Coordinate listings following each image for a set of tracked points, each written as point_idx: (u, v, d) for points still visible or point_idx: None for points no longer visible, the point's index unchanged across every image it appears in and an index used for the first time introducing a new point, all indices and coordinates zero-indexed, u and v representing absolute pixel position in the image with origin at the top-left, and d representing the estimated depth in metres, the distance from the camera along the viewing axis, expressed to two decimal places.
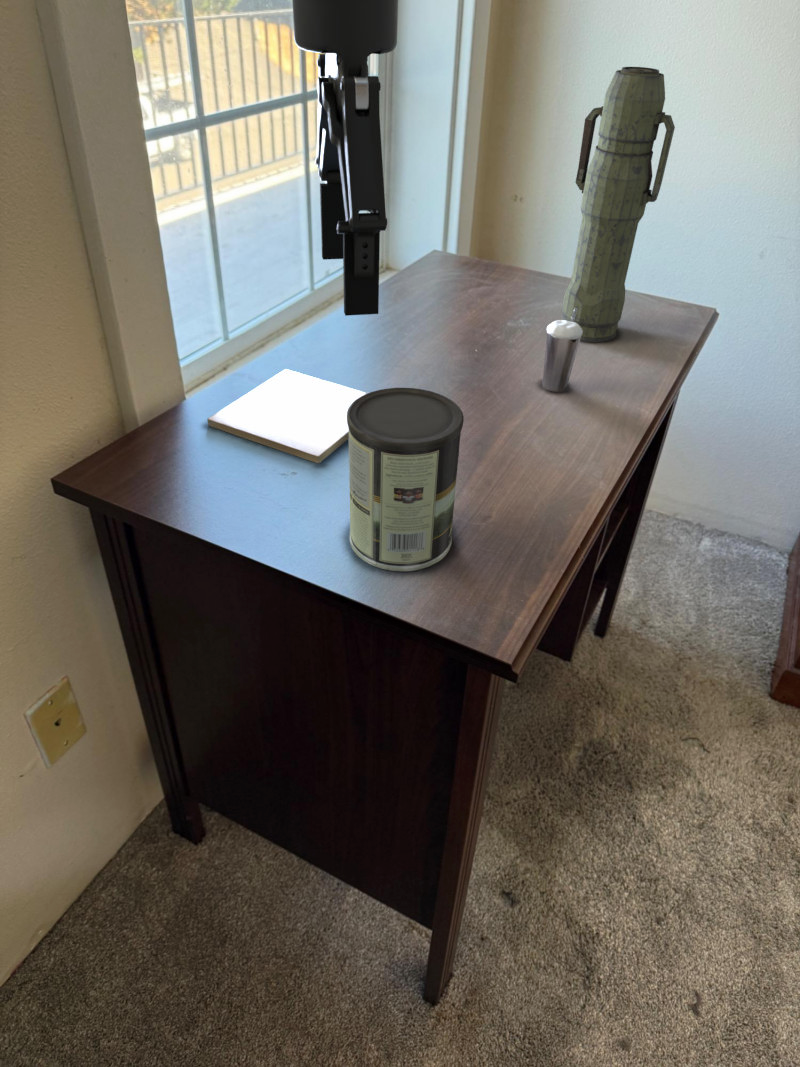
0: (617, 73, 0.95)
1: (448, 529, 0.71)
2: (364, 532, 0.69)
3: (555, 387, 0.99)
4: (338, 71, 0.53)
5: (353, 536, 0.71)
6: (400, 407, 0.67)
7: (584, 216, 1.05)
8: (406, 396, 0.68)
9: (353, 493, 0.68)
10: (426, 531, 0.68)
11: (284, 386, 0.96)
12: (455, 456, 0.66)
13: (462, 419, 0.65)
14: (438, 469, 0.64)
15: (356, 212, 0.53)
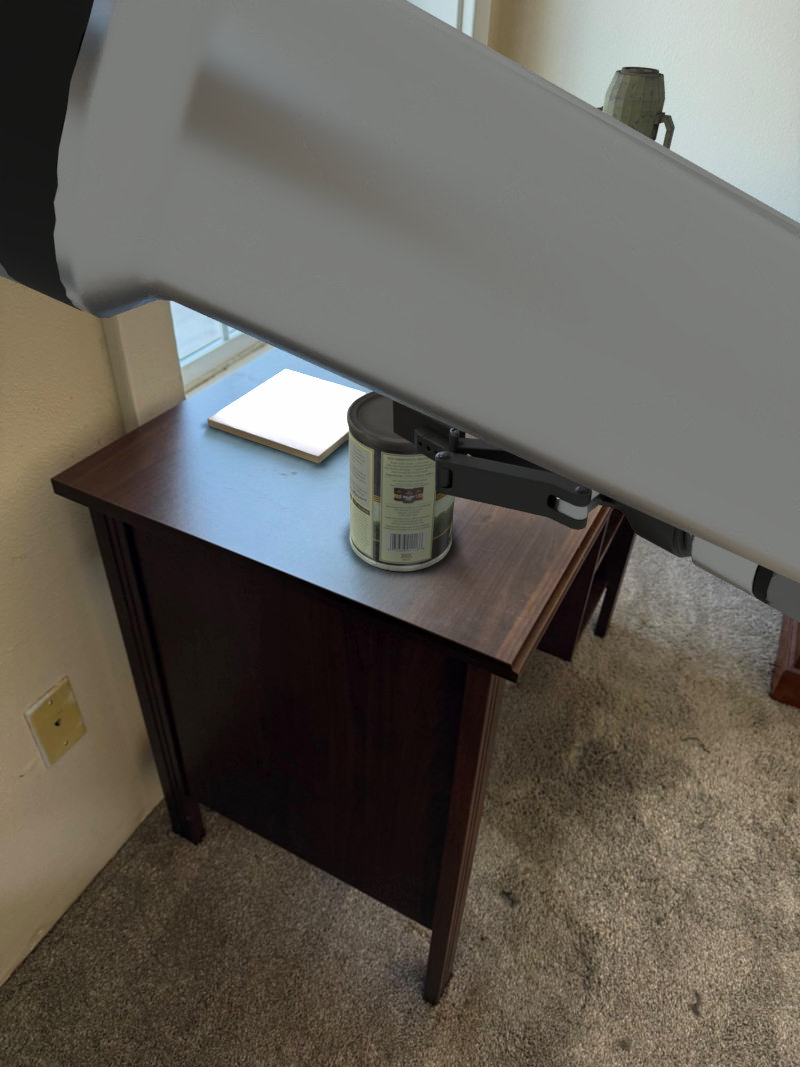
0: (617, 73, 0.95)
1: (448, 529, 0.71)
2: (364, 532, 0.69)
3: None
4: None
5: (353, 536, 0.71)
6: None
7: None
8: None
9: (353, 493, 0.68)
10: (426, 531, 0.68)
11: (284, 386, 0.96)
12: None
13: None
14: None
15: (449, 467, 0.46)
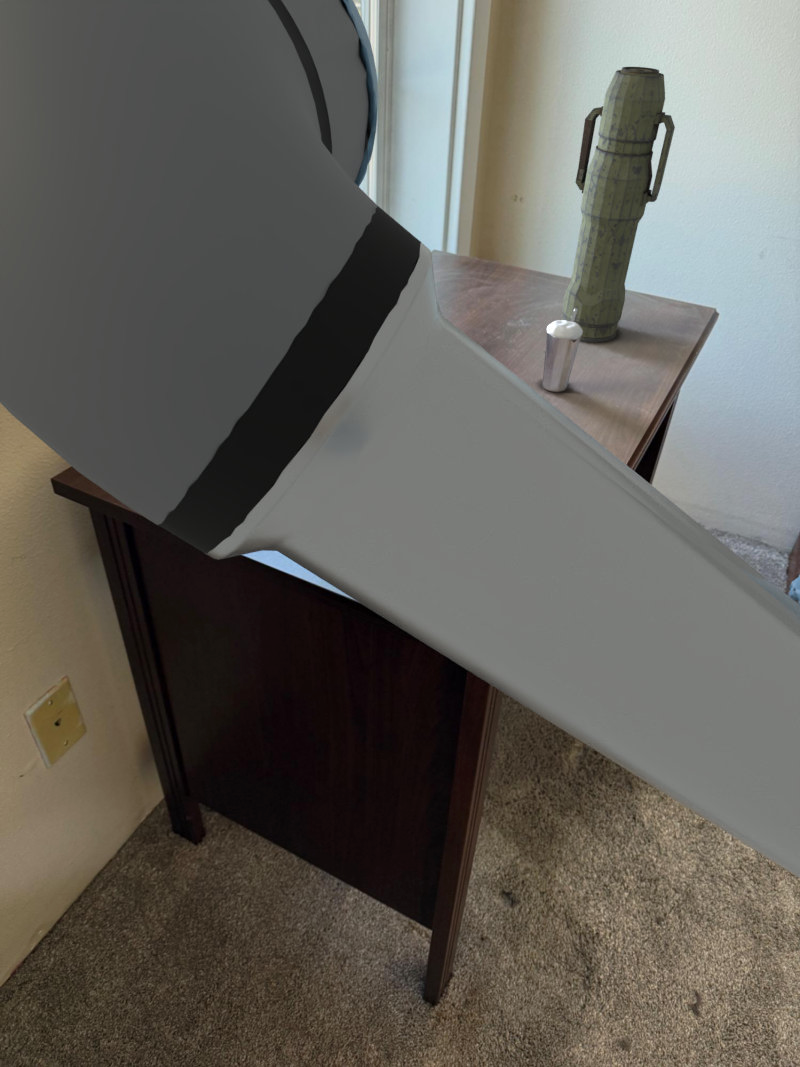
0: (617, 73, 0.95)
1: None
2: None
3: (555, 387, 0.99)
4: None
5: None
6: None
7: (584, 216, 1.05)
8: None
9: None
10: None
11: None
12: None
13: None
14: None
15: None
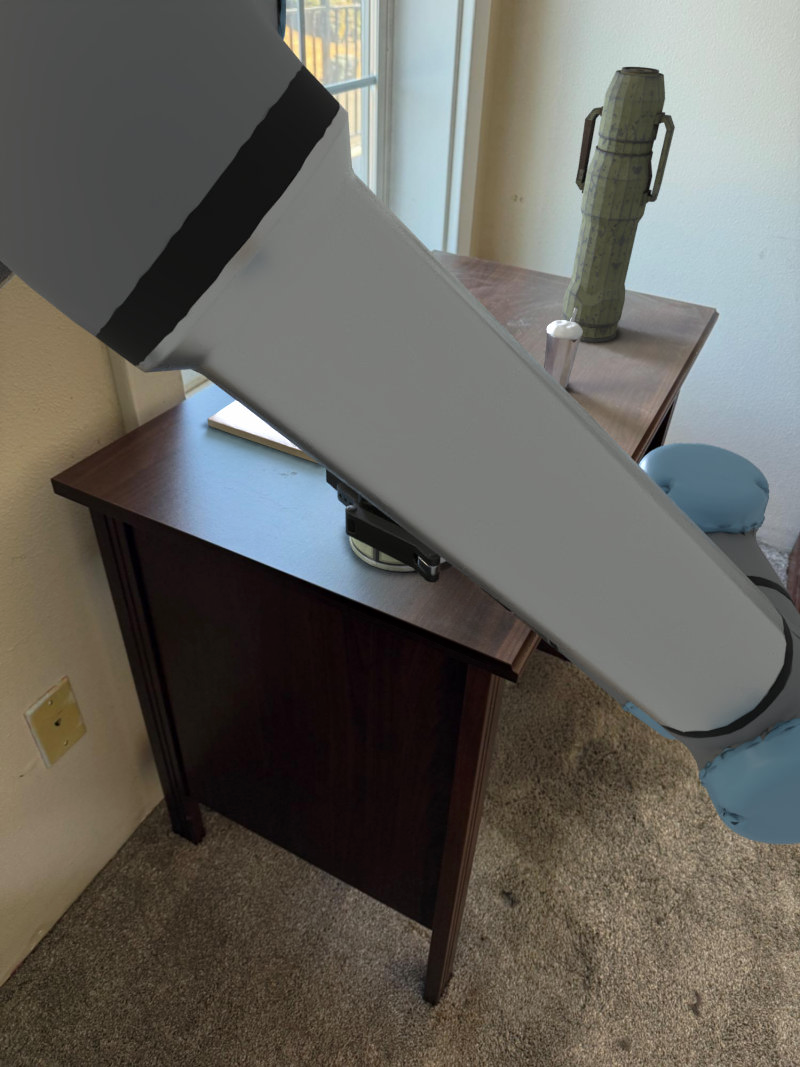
0: (617, 73, 0.95)
1: None
2: None
3: None
4: None
5: None
6: None
7: (584, 216, 1.05)
8: None
9: None
10: None
11: None
12: None
13: None
14: None
15: (352, 518, 0.62)
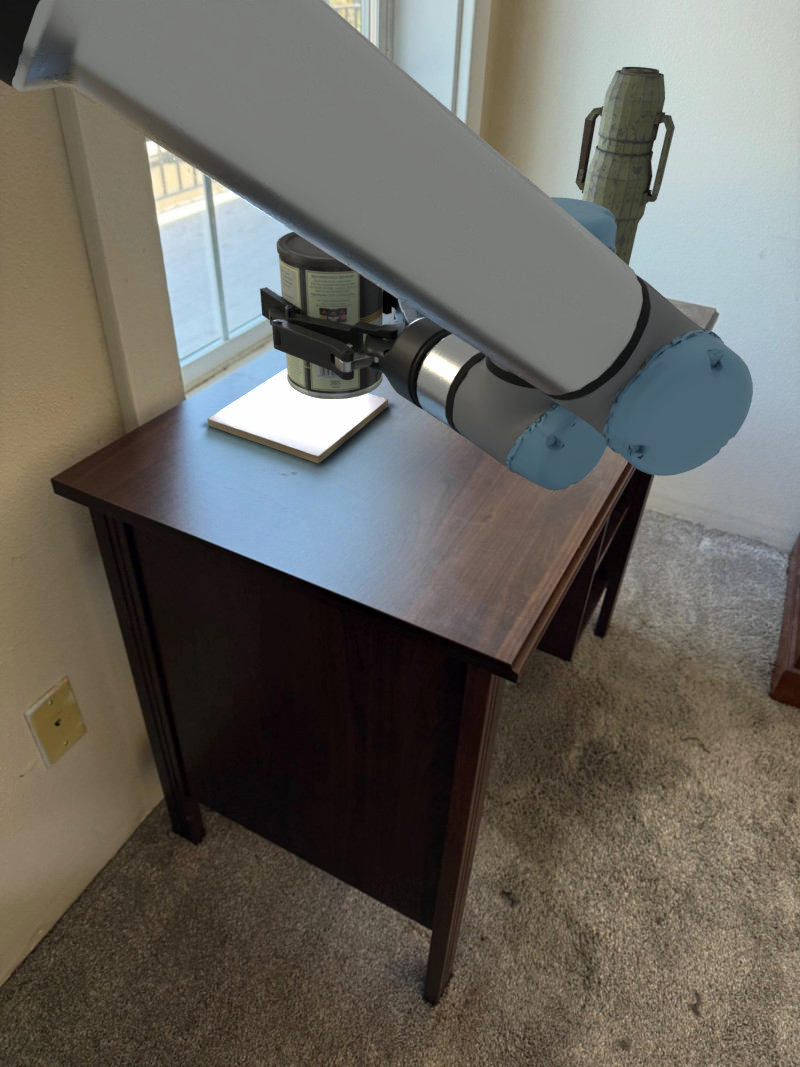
0: (617, 73, 0.95)
1: None
2: (297, 361, 0.74)
3: None
4: (381, 349, 0.64)
5: (288, 369, 0.77)
6: None
7: None
8: None
9: None
10: None
11: (284, 386, 0.96)
12: None
13: None
14: (359, 290, 0.69)
15: (278, 329, 0.67)
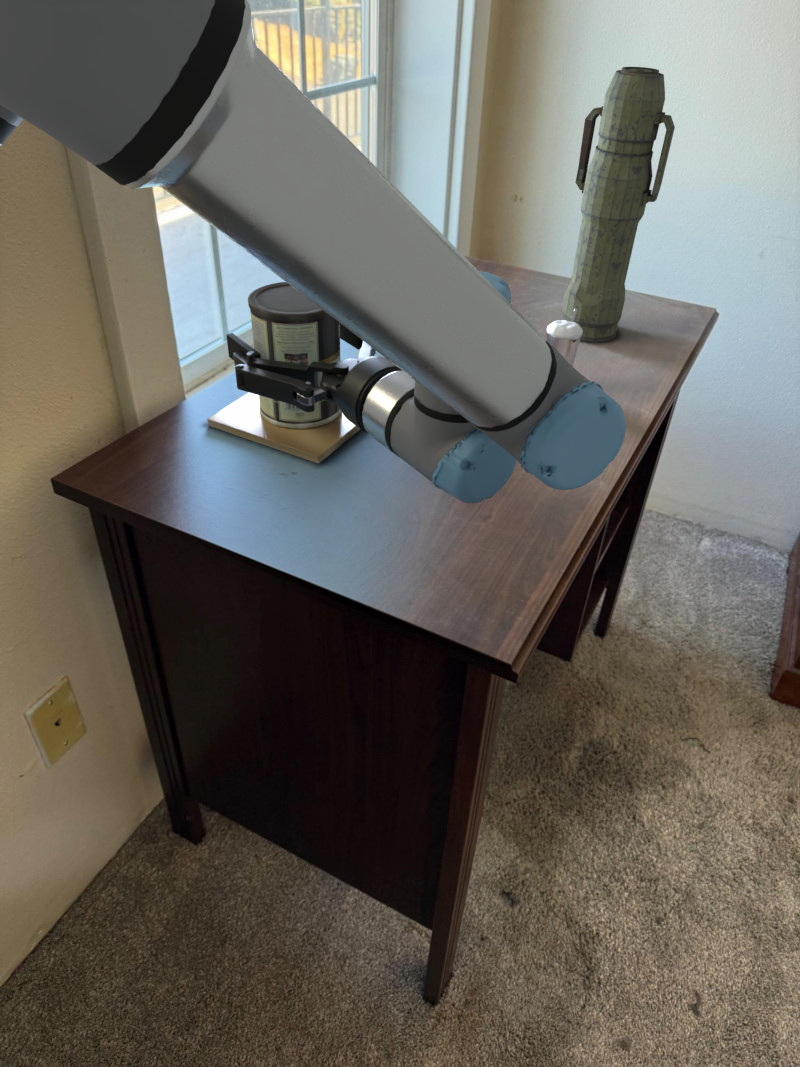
0: (617, 73, 0.95)
1: None
2: None
3: None
4: (334, 384, 0.76)
5: (260, 403, 0.89)
6: (292, 293, 0.84)
7: (584, 216, 1.05)
8: None
9: None
10: None
11: None
12: (334, 330, 0.84)
13: None
14: (318, 338, 0.82)
15: (241, 372, 0.78)
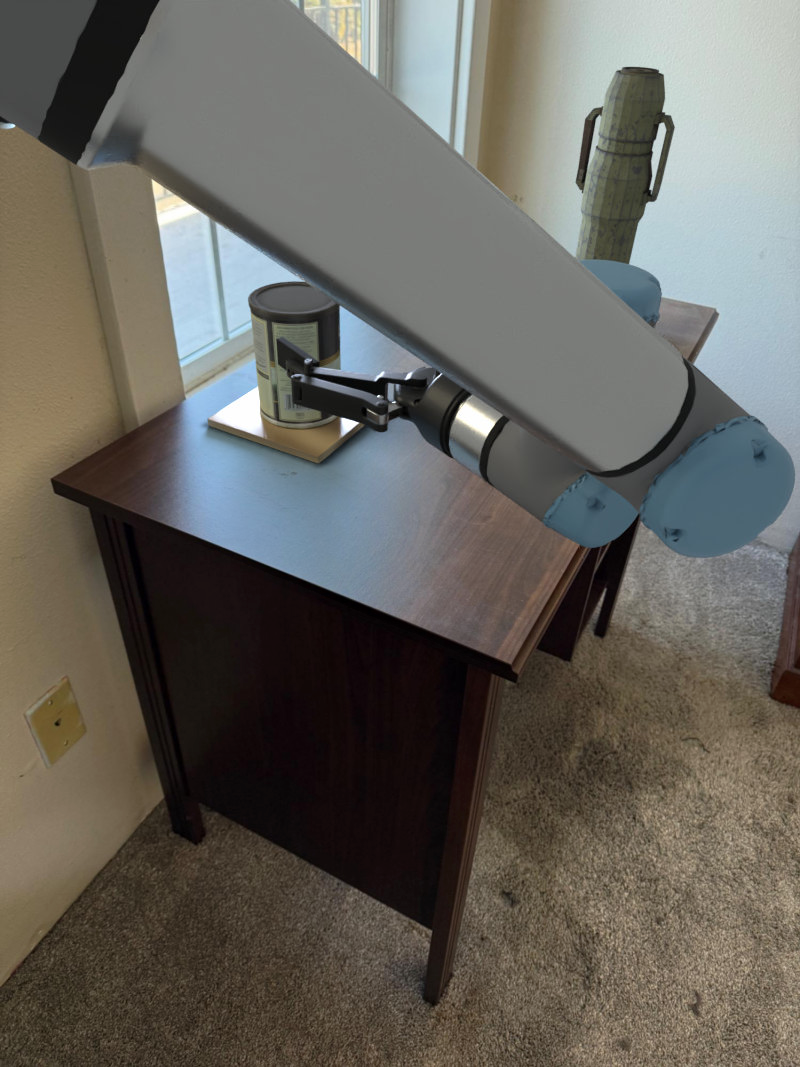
0: (617, 73, 0.95)
1: None
2: (267, 396, 0.87)
3: None
4: (412, 398, 0.64)
5: (260, 402, 0.89)
6: (292, 293, 0.84)
7: (584, 216, 1.05)
8: (299, 287, 0.86)
9: (257, 363, 0.86)
10: None
11: None
12: (334, 330, 0.84)
13: None
14: (318, 338, 0.82)
15: (299, 384, 0.65)
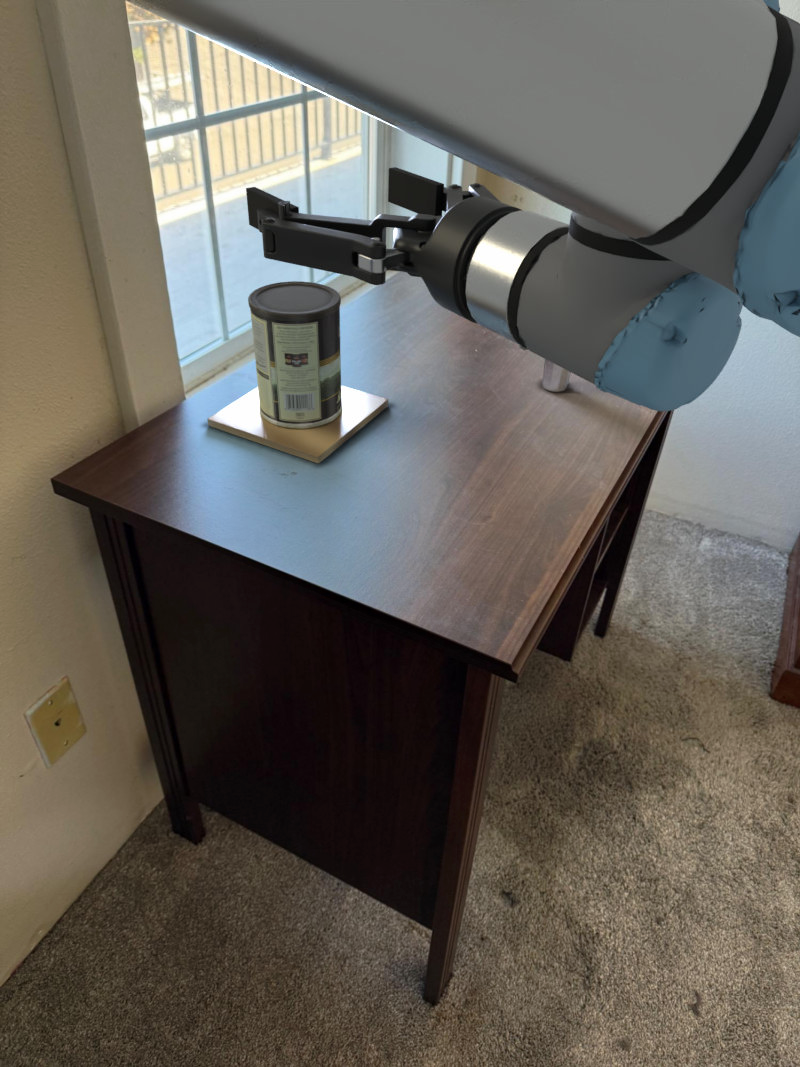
0: None
1: (335, 395, 0.88)
2: (267, 396, 0.87)
3: (555, 387, 0.99)
4: (416, 241, 0.49)
5: (260, 402, 0.89)
6: (292, 293, 0.84)
7: None
8: (299, 287, 0.86)
9: (257, 363, 0.86)
10: (314, 393, 0.86)
11: None
12: (334, 330, 0.84)
13: (339, 300, 0.83)
14: (318, 338, 0.82)
15: (271, 228, 0.51)
